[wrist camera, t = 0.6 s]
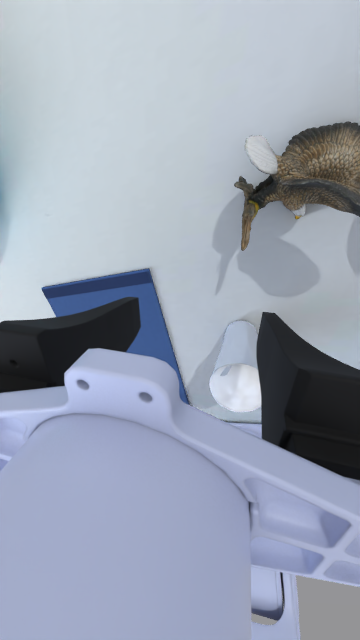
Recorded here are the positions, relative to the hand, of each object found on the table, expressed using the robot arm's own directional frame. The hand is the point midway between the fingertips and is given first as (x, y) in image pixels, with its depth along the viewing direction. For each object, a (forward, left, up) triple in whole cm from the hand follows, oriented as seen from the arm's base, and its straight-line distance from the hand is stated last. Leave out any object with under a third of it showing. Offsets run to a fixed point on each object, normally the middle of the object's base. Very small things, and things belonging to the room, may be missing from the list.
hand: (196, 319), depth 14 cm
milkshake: (-7, -1, -10) cm, 13 cm away
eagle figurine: (+5, -7, -10) cm, 14 cm away
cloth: (-9, +14, -10) cm, 19 cm away
